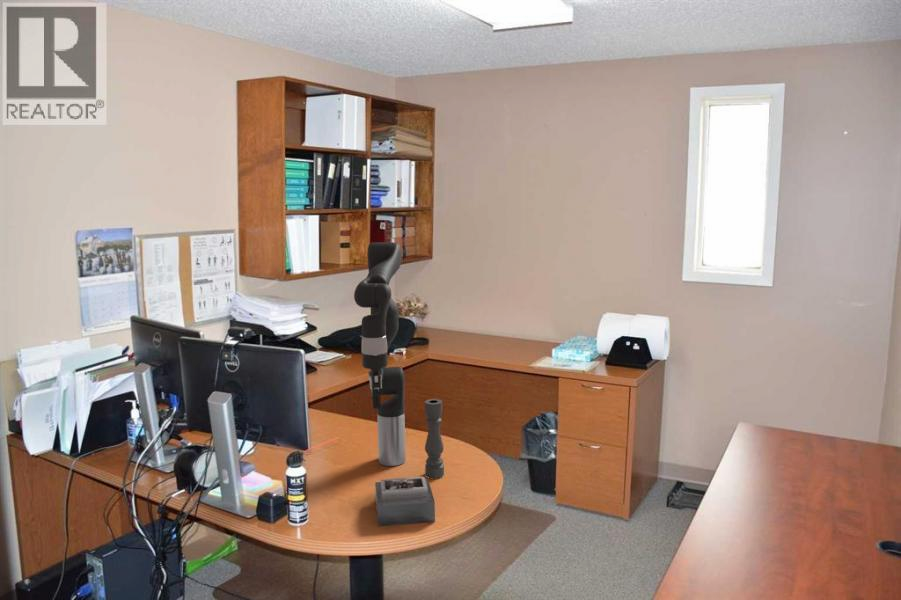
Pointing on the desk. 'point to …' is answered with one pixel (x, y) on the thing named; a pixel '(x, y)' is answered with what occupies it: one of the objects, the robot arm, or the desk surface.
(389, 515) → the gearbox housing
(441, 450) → the candle holder
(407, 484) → the lighter
